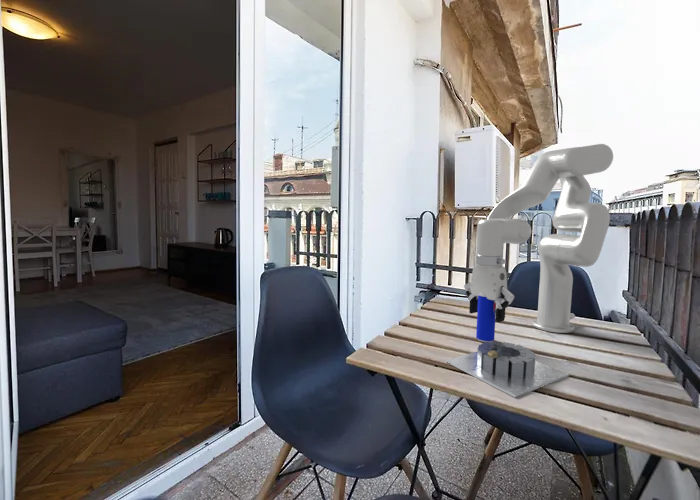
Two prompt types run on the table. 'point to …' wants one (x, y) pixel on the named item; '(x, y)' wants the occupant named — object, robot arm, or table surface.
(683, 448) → the table surface
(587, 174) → the robot arm
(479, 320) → the beverage can
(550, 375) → the hub
